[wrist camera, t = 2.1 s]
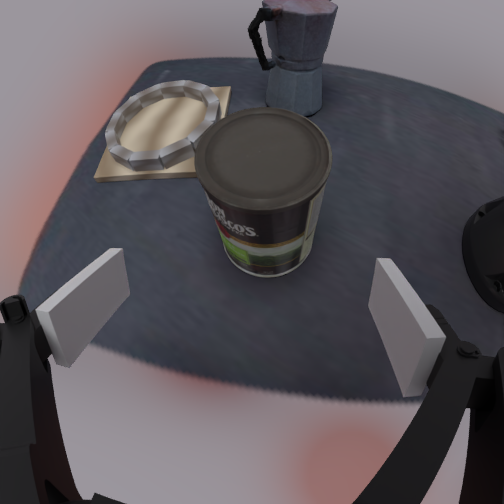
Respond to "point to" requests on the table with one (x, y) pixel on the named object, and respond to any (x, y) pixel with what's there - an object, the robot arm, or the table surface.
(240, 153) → the coffee can
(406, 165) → the table surface
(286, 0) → the moka pot
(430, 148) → the table surface
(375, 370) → the table surface
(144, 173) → the ring board
